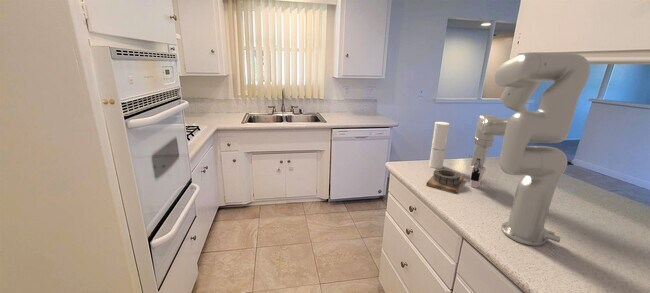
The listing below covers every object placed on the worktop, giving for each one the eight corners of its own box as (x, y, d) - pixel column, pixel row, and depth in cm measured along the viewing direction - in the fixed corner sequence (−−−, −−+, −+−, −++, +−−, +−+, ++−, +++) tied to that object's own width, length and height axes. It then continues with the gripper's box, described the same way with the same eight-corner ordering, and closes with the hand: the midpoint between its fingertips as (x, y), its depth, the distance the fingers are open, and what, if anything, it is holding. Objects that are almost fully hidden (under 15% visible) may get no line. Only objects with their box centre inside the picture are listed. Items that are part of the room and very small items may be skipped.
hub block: (463, 180, 137) (465, 170, 135) (455, 193, 123) (457, 182, 121) (436, 173, 144) (438, 164, 143) (426, 185, 130) (427, 175, 129)
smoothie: (471, 182, 135) (476, 155, 131) (484, 187, 130) (490, 159, 126) (464, 185, 131) (469, 157, 127) (477, 190, 126) (483, 161, 122)
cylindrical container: (440, 164, 158) (446, 121, 150) (444, 169, 151) (451, 124, 143) (427, 163, 158) (433, 121, 151) (430, 168, 151) (437, 124, 144)
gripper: (477, 136, 133) (470, 170, 138) (470, 144, 119) (463, 181, 125) (494, 139, 129) (487, 173, 134) (490, 148, 115) (482, 186, 121)
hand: (476, 177), depth 129 cm, fingers open, 7 cm apart
